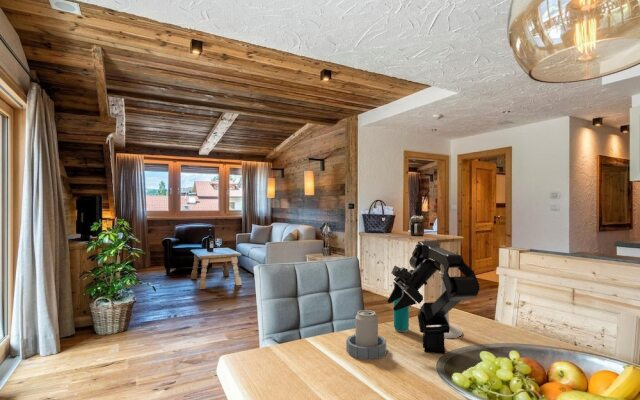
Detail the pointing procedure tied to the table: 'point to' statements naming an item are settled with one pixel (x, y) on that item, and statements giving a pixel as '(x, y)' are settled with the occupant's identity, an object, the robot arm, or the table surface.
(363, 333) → the can
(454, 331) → the candlestick
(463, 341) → the table surface
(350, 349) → the bowl
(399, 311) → the beverage can
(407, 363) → the table surface
